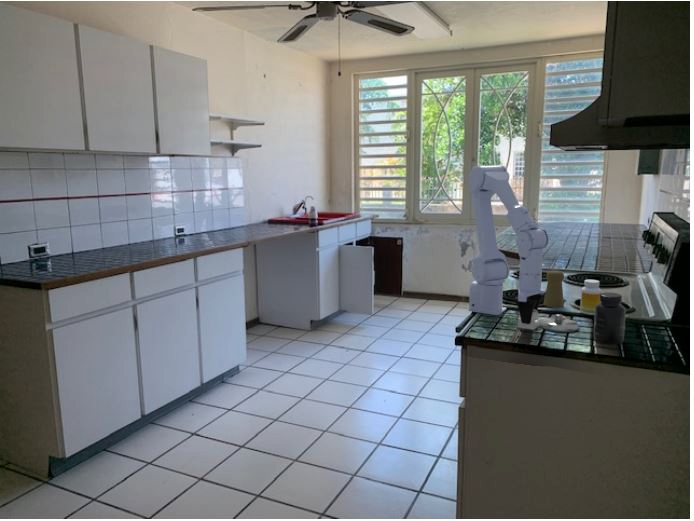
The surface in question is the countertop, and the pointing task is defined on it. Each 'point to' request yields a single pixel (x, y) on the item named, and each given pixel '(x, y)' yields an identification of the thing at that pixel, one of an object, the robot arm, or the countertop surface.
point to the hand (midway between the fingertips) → (528, 320)
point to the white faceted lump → (533, 323)
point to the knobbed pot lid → (558, 324)
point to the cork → (554, 289)
